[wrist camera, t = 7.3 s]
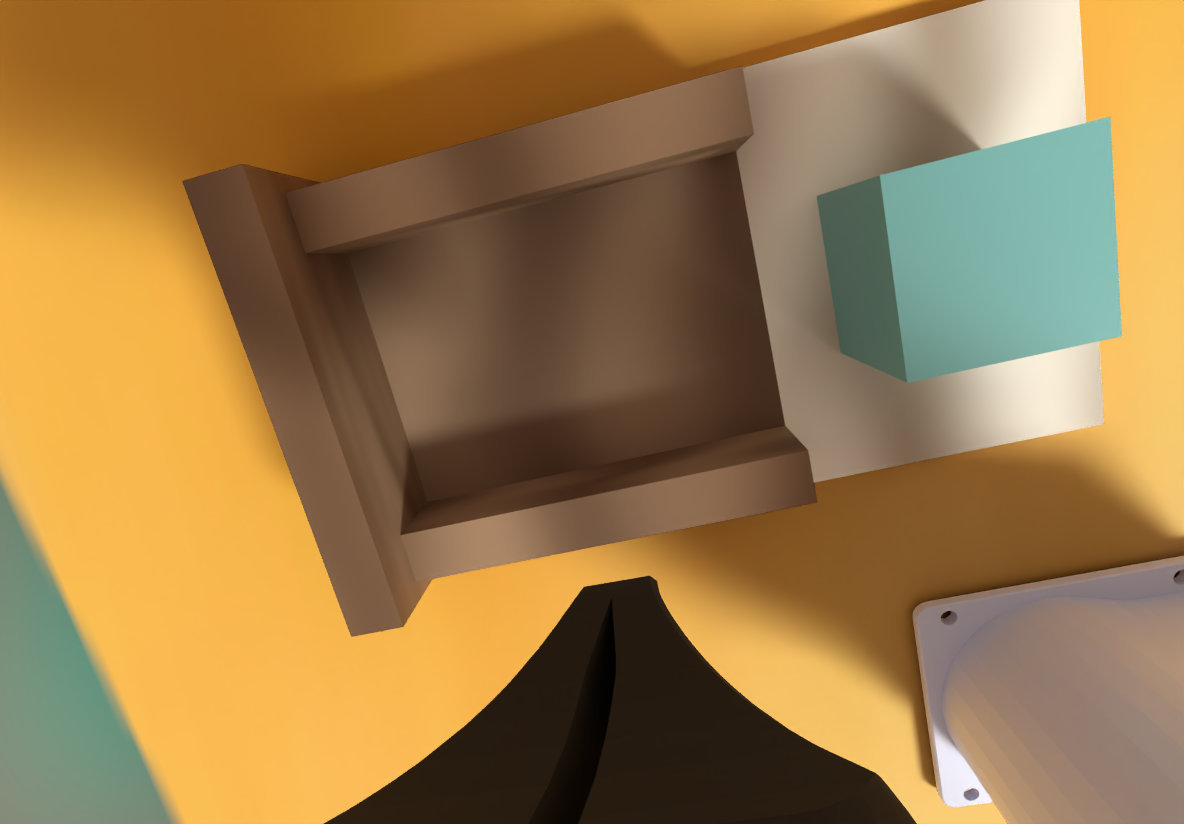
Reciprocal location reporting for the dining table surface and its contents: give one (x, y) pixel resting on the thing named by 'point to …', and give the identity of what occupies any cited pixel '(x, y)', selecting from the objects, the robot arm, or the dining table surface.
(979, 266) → the teal block
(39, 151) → the dining table surface
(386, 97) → the dining table surface
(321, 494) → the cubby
